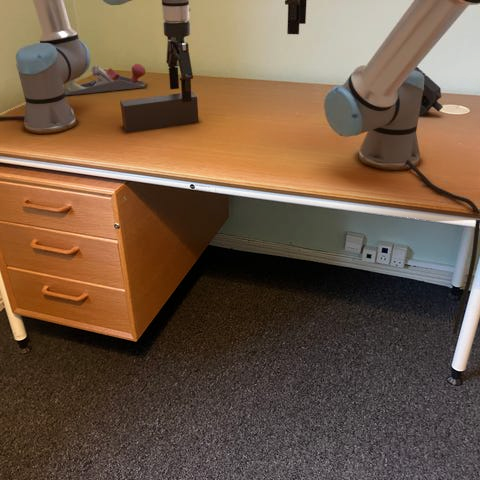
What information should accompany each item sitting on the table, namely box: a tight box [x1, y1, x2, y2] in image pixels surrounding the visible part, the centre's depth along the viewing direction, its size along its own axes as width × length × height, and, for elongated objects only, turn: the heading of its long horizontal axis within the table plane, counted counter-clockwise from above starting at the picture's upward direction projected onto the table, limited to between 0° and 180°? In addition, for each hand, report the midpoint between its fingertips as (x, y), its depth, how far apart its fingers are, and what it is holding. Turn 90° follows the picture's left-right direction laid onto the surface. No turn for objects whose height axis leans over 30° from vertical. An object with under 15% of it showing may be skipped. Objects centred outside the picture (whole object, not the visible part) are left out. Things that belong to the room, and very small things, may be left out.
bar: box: [119, 91, 200, 134], centre depth 162 cm, size 22×6×8 cm, turn 111°
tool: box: [414, 66, 444, 116], centre depth 168 cm, size 6×19×15 cm, turn 51°
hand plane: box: [63, 63, 146, 96], centre depth 194 cm, size 7×31×15 cm, turn 107°
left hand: (180, 95), depth 162 cm, fingers open, 13 cm apart
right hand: (296, 28), depth 132 cm, fingers open, 13 cm apart
